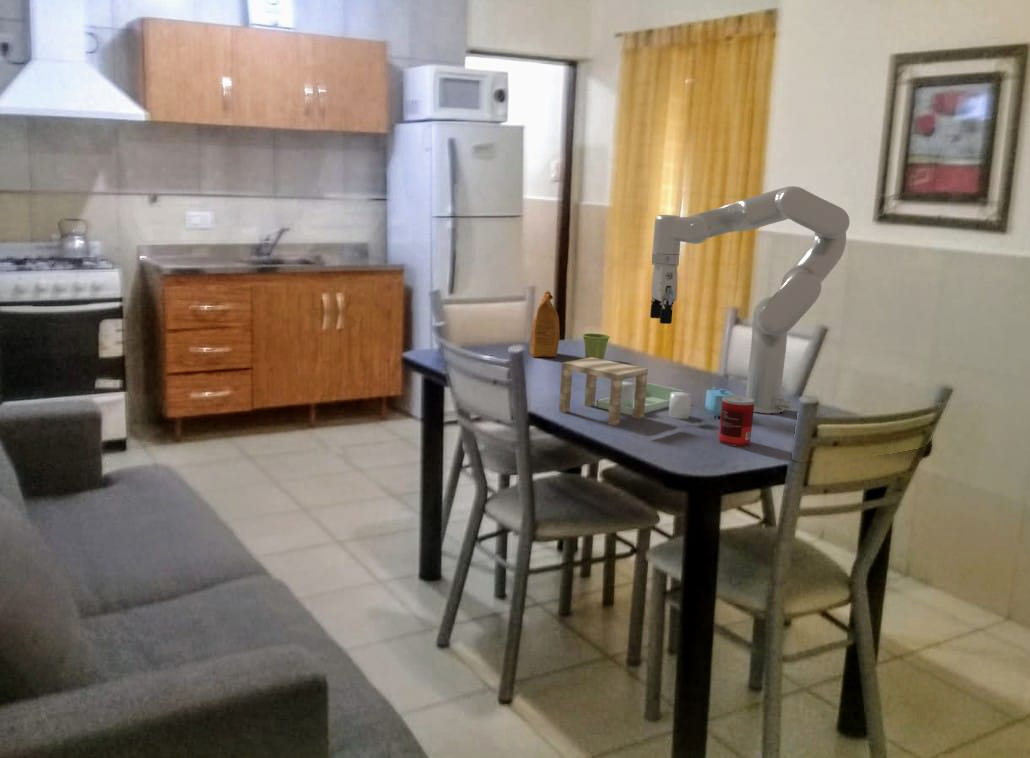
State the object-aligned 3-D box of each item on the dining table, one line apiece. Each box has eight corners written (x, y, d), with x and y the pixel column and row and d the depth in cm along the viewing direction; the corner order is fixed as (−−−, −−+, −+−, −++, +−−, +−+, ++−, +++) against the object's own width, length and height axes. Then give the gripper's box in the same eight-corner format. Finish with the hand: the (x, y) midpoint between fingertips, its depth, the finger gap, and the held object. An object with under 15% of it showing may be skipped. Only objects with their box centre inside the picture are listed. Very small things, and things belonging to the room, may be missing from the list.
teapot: (700, 409, 272) (702, 383, 270) (720, 409, 273) (723, 383, 271) (716, 420, 260) (718, 393, 259) (737, 420, 262) (740, 393, 260)
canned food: (745, 438, 244) (749, 395, 241) (753, 447, 236) (758, 403, 234) (714, 437, 243) (719, 394, 241) (722, 446, 236) (726, 401, 233)
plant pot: (576, 357, 338) (578, 333, 337) (602, 357, 341) (603, 333, 339) (586, 363, 330) (588, 337, 328) (612, 363, 332) (614, 337, 331)
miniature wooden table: (643, 421, 256) (647, 368, 253) (614, 429, 246) (618, 374, 243) (588, 407, 267) (592, 357, 264) (558, 414, 257) (562, 362, 255)
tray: (682, 405, 275) (683, 390, 274) (633, 418, 257) (634, 402, 256) (646, 397, 283) (647, 382, 282) (596, 409, 265) (597, 393, 264)
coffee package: (557, 352, 346) (561, 290, 341) (558, 359, 334) (562, 295, 329) (529, 351, 346) (533, 289, 341) (529, 357, 334) (532, 293, 329)
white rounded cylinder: (636, 409, 264) (638, 384, 262) (625, 412, 260) (627, 386, 258) (620, 405, 267) (622, 380, 266) (608, 408, 263) (610, 383, 262)
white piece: (692, 420, 259) (695, 394, 258) (681, 423, 255) (684, 397, 254) (675, 416, 263) (677, 390, 261) (664, 419, 259) (666, 393, 257)
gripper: (688, 263, 265) (682, 326, 268) (669, 257, 281) (664, 316, 285) (661, 262, 263) (656, 325, 267) (644, 256, 280) (639, 315, 284)
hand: (660, 320), depth 276 cm, fingers open, 9 cm apart
